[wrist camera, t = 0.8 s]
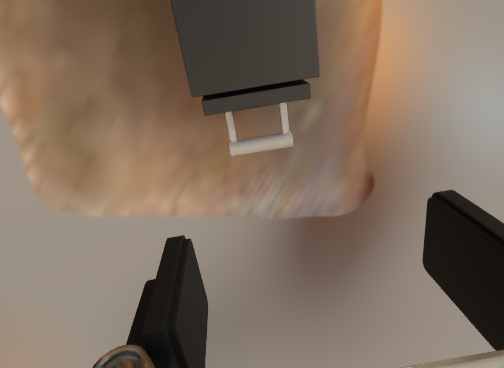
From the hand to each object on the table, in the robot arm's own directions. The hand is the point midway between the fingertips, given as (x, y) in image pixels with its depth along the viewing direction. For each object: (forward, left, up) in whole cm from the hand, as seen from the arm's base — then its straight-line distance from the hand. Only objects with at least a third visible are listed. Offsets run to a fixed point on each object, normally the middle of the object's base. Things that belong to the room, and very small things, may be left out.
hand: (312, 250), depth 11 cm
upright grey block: (-10, 0, -26) cm, 28 cm away
